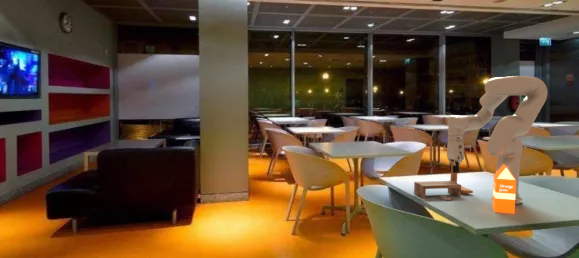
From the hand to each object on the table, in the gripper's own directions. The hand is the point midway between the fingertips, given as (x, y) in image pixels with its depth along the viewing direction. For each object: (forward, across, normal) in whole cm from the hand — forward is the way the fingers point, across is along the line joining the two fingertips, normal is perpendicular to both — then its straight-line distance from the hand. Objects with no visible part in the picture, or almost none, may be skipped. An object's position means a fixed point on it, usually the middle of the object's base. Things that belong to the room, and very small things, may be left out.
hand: (454, 171), depth 220 cm
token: (+10, -21, +16) cm, 28 cm away
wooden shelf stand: (+9, -12, +16) cm, 22 cm away
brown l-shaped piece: (+8, -6, 0) cm, 11 cm away
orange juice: (+9, -42, +1) cm, 43 cm away
